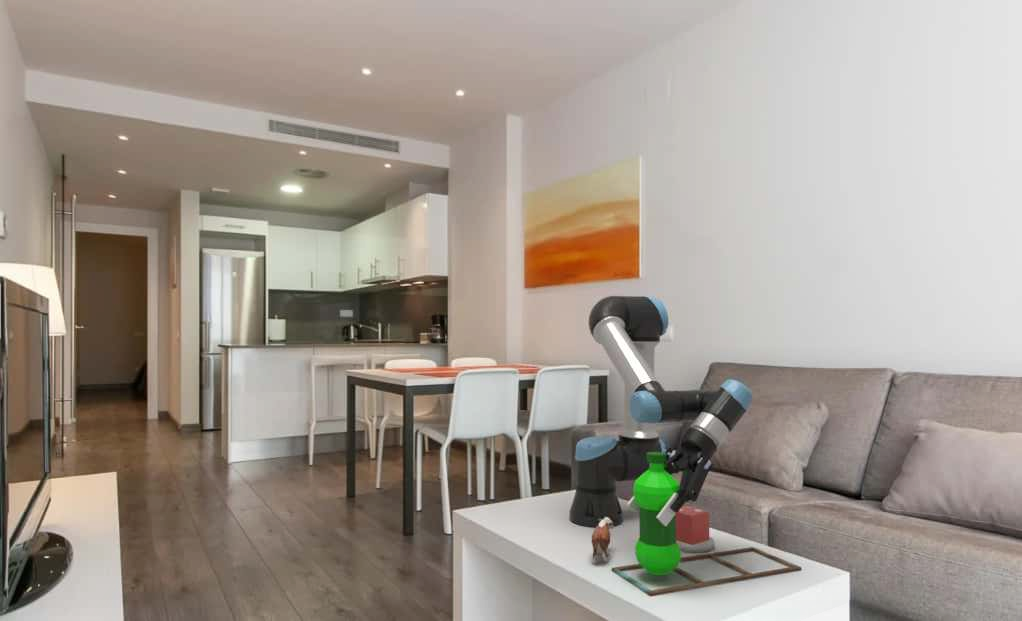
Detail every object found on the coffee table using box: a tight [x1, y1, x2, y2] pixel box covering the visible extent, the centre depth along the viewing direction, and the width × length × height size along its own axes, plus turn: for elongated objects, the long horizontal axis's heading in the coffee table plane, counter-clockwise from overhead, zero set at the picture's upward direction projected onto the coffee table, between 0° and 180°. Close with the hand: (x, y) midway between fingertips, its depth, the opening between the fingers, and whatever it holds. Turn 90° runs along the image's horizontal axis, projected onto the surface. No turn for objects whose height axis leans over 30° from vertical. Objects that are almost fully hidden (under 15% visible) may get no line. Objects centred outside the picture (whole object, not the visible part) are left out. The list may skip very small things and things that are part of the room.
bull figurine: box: [591, 517, 614, 565], centre depth 147 cm, size 4×13×8 cm, turn 161°
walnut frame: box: [611, 546, 802, 597], centre depth 138 cm, size 15×40×1 cm, turn 111°
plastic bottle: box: [632, 452, 682, 576], centre depth 134 cm, size 10×10×25 cm
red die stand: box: [676, 505, 715, 554], centre depth 156 cm, size 12×12×9 cm
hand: (645, 514), depth 133 cm, fingers closed on plastic bottle, 10 cm apart
